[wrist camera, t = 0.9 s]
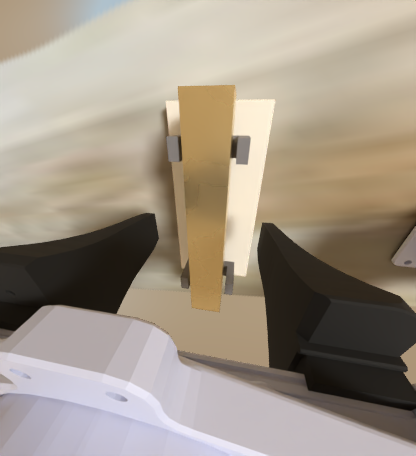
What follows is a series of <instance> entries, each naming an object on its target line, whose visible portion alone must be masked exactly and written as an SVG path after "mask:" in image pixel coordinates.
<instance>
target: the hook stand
mask: <svg viewBox="0 0 416 456" xmlns="http://www.w3.org/2000/svg"><path fill="white" fill-rule="evenodd" d="M274 105H275V100H236V107H235V121H234V134H233V148H232V161H231V175H230V188H229V202H228V215H227V229H226V243H225V256H224V270H223V275H225V276H226V283H225V294H229V295H232V291H233V280H234V275H238V276H246V272H247V266H248V260H249V254H250V248H251V242H252V236H253V230H254V224H255V218H256V212H257V206H258V200H259V194H260V188H261V182H262V177H263V171H264V165H265V159H266V153H267V147H268V141H269V135H270V129H271V123H272V117H273V111H274ZM166 109H167V119H168V130H169V136H166V139H167V149H168V159H169V162H172V172H173V183H174V193H175V204H176V215H177V225H178V236H179V246H180V257H181V268H183V269H184V270H183V273H182V275H181V286H182V288H187V289H189V286H190V271H189V256H188V240H187V224H186V208H185V192H184V177H183V161H182V145H181V129H180V113H179V101H166Z"/></svg>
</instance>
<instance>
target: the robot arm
mask: <svg viewBox="0 0 416 456" xmlns="http://www.w3.org/2000/svg"><path fill="white" fill-rule="evenodd" d="M158 239H159V237H158V231H157V225H156V219H155V214H152V213H145V214H141V215H138V216H135V217H133V218H130V219H128V220H125V221H123V222H120V223H118V224H115V225H112V226H109V227H106V228H104V229H101V230H98V231H94V232H91V233H87V234H83V235H79V236H75V237H70V238H66V239H61V240H55V241H49V242H43V243H36V244H28V245H18V246H9V247H1V248H0V456H416V384H412V385H411V384H410V382H409V381H408V379H407V378H406V376H405V374H404V373H403V372H406V371H408V369H407V366H406V364H405V363H404V362H403V360H402V359H401V357H400V356H401V355H402V354H403V353H404V352H406V351H407V350H408V349H409V348H410V347H411V346H413V345H414V344H415V343H416V313H415V312H414V311H413V310H412V309H411V308H410V307H409V306H408V304H407V303H406V302H405V301H404V300H403V299H402V298H401V297H400V296H398V295H395V294H393V293H390V292H388V291H385V290H382V289H380V288H377V287H375V286H372V285H369V284H367V283H365V282H362V281H360V280H358V279H356V278H353V277H351V276H349V275H347V274H345V273H343V272H341V271H339V270H337V269H335V268H333V267H331V266H329V265H327V264H326V263H324V262H322V261H320V260H319V259H317V258H316V257H314V256H312V255H311V254H309V253H308V252H306V251H305V250H304V249H302V248H301V247H300V246H298V245H297V244H296V243H294V242H293V241H292V240H291V239H290V238H288V237H287V236H286V235H285V234H284V233H283V232H282V231H281V230H280V229H278V228H277V227H276V226H275V225H274V224H273V223H262V227H261V232H260V238H259V243H258V248H257V251H258V264H259V269H260V274H261V279H262V284H263V289H264V295H265V304H266V315H267V330H268V348H269V367H263V366H258V365H253V364H248V363H242V362H237V361H232V360H227V359H221V358H216V357H211V356H206V355H200V354H195V353H190V352H184V351H179V350H177V348H176V345H175V343H174V342H173V340H172V338H171V337H170V335H169V333H168V332H166V331H165V330H163V329H162V328H160V327H159V326H157V325H156V324H155V323H152V322H149V321H145V320H142V319H139V318H135V317H130V316H124V315H118V314H117V311H118V309H119V307H120V305H121V303H122V301H123V299H124V297H125V295H126V293H127V291H128V289H129V287H130V285H131V283H132V281H133V280H134V278H135V277H136V275H137V273H138V272H139V270H140V269H141V268H142V266H143V265H144V263H145V262H146V260H147V259H148V257H149V256H150V254H151V253H152V251H153V250H154V248H155V246H156V244H157V241H158ZM391 261H392V263H394V264H395V265H397V266H404V267H413V268H416V226H415V227H414V229H413V230H412V232H411V233H410V234H409V236H408V237H407V239H406V240H405V241H404V243H403V244H402V246H401V247H400V248H399V250H398V251H397V252H396V254H395V255H394V257H393V258H392V260H391Z"/></svg>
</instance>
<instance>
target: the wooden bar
mask: <svg viewBox="0 0 416 456" xmlns="http://www.w3.org/2000/svg"><path fill="white" fill-rule="evenodd" d="M178 98H179V113H180V129H181V145H182V161H183V177H184V192H185V208H186V224H187V240H188V256H189V271H190V287H191V302H192V308H196V309H202V310H209V311H215V312H219V311H220V302H221V294H222V283H223V270H224V256H225V243H226V229H227V215H228V202H229V188H230V175H231V161H232V148H233V134H234V121H235V107H236V88H235V85H218V86H178Z"/></svg>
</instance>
